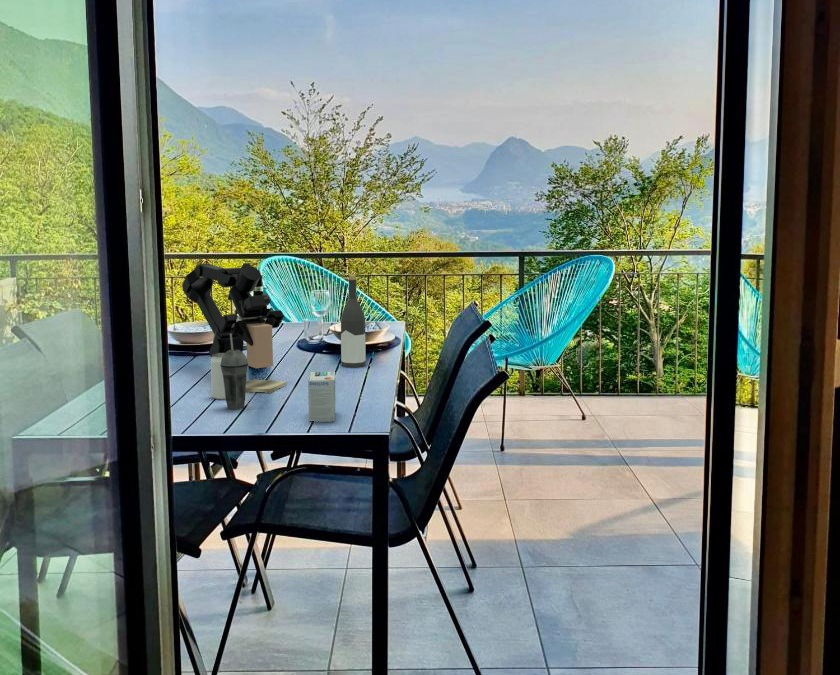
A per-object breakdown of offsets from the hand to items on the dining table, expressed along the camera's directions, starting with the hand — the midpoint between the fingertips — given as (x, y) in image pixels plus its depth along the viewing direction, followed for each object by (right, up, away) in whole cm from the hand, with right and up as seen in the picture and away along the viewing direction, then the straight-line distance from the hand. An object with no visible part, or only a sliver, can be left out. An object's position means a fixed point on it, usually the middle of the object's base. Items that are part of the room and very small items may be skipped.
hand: (261, 344), depth 252 cm
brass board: (-1, -13, +3) cm, 13 cm away
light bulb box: (+21, -19, -30) cm, 41 cm away
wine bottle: (+24, -8, +37) cm, 45 cm away
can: (-9, -15, -8) cm, 19 cm away
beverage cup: (-3, -17, -20) cm, 26 cm away
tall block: (-1, -6, +2) cm, 7 cm away
